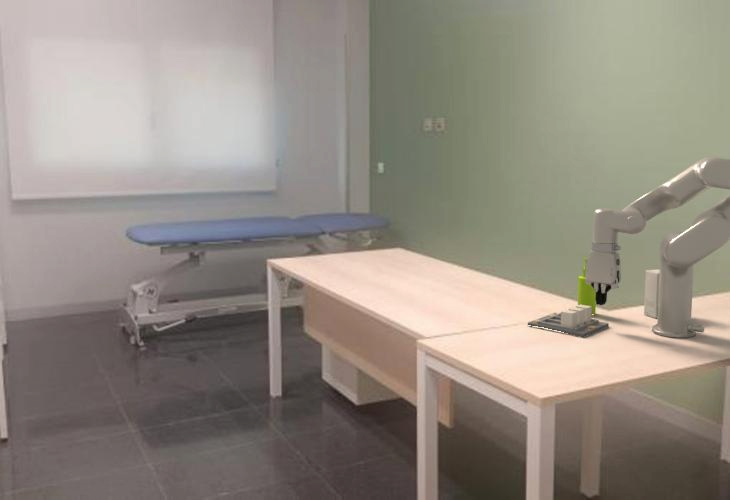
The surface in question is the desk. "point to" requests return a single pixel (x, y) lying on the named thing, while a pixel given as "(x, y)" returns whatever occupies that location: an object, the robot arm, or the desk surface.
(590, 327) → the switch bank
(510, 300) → the desk surface
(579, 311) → the tab
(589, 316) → the tab
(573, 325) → the tab
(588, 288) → the soap dispenser
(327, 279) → the desk surface
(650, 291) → the skincare box
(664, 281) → the robot arm
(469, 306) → the desk surface
